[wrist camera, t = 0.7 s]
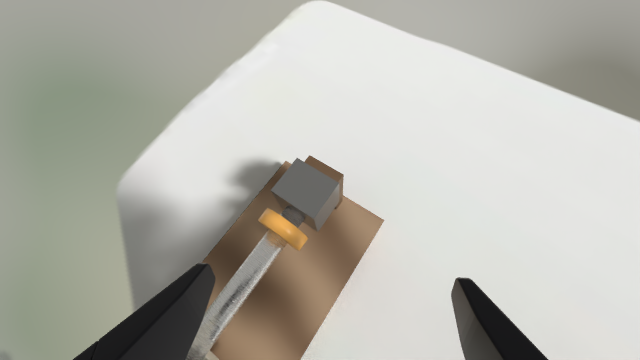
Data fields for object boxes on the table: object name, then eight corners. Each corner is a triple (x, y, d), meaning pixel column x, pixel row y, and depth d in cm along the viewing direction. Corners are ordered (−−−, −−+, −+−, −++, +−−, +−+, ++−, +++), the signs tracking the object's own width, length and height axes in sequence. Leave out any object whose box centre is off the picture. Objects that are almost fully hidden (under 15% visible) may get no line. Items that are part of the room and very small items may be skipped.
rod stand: (217, 497, 17) (129, 640, 10) (118, 377, 20) (-2, 420, 13) (381, 224, 24) (399, 193, 17) (288, 167, 27) (270, 121, 20)
